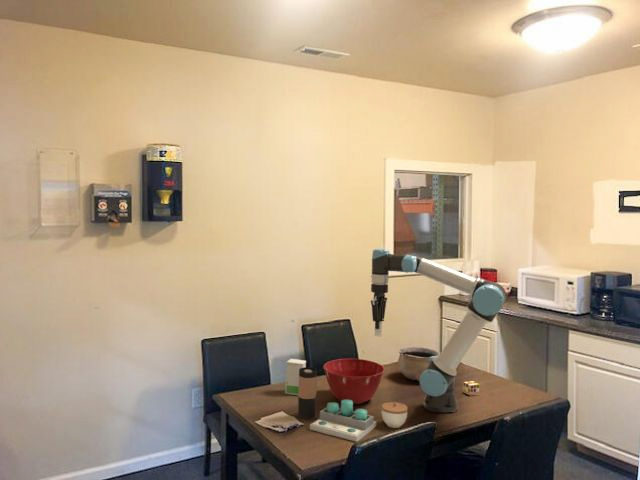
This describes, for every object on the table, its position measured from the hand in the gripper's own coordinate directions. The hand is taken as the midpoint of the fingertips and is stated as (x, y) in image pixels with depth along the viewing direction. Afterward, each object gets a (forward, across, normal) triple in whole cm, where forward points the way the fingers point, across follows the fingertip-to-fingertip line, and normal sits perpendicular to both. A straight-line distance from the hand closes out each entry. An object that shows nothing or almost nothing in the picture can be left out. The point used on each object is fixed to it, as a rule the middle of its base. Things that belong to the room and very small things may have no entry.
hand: (377, 335), depth 239 cm
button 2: (+27, +27, -1) cm, 38 cm away
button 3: (+30, +27, -7) cm, 41 cm away
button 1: (+30, +27, +6) cm, 41 cm away
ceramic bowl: (+33, -51, +2) cm, 61 cm away
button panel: (+32, +30, -1) cm, 44 cm away
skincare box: (+33, +5, -40) cm, 52 cm away
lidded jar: (+33, +15, +15) cm, 39 cm away
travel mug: (+33, +27, -20) cm, 47 cm away
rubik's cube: (+33, -43, +32) cm, 63 cm away
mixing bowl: (+33, -3, -13) cm, 35 cm away
